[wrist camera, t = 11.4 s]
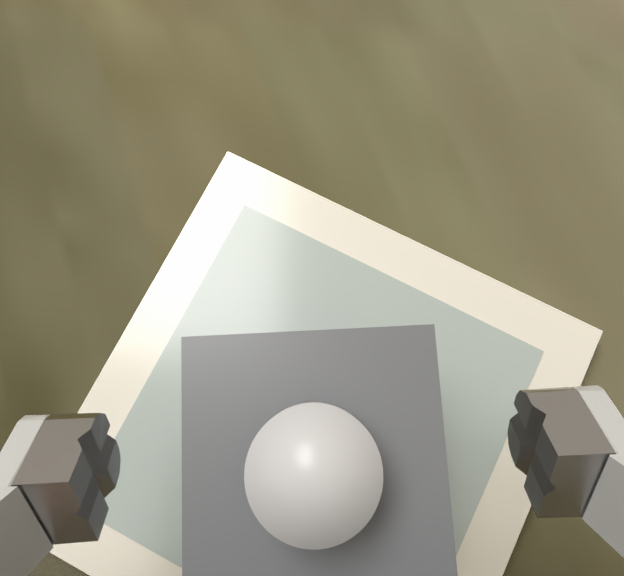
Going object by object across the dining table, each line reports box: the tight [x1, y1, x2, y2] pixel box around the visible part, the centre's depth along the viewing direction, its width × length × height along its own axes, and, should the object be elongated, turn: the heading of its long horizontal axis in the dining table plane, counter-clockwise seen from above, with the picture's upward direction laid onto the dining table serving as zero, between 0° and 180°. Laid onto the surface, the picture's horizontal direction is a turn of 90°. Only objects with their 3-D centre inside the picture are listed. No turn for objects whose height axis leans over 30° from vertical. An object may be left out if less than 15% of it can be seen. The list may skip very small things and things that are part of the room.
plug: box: [181, 324, 458, 576], centre depth 12 cm, size 4×4×9 cm
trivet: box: [50, 151, 603, 576], centre depth 17 cm, size 14×14×1 cm
